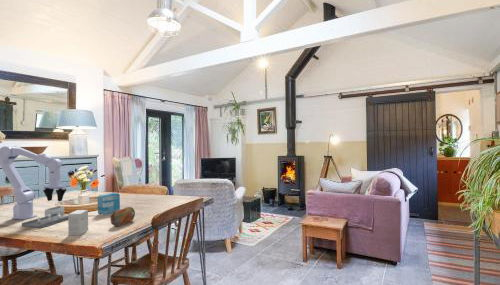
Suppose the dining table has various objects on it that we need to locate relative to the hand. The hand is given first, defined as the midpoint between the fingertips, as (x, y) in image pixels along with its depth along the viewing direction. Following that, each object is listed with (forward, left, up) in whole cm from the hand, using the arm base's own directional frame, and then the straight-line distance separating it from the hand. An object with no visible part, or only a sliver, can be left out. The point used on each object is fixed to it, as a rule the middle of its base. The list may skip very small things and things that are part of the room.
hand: (54, 200), depth 167 cm
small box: (+41, -23, -10) cm, 48 cm away
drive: (-1, 0, -10) cm, 10 cm away
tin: (+52, -5, -10) cm, 54 cm away
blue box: (+27, +13, -10) cm, 32 cm away
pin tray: (+8, -11, -9) cm, 16 cm away
